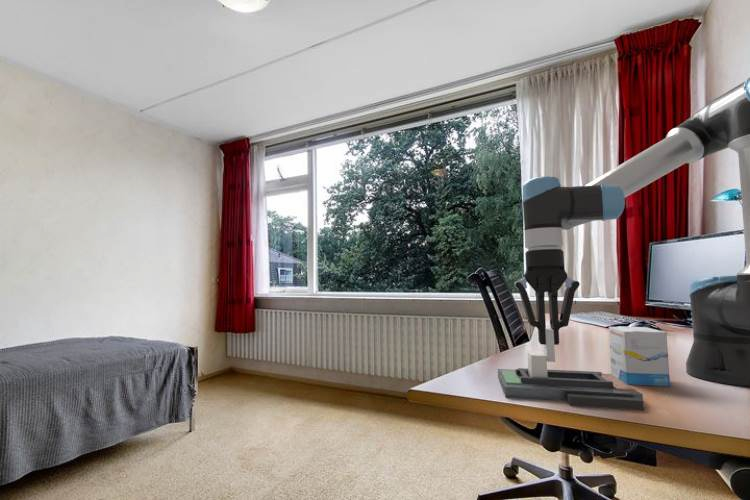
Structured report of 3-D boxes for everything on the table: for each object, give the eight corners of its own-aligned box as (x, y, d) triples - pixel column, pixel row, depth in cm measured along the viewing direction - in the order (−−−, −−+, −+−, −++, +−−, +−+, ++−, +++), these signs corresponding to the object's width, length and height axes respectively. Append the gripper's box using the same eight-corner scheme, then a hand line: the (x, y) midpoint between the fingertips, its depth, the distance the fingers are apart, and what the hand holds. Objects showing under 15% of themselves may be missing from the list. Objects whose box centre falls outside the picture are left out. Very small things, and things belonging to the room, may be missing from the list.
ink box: (671, 387, 77) (667, 331, 78) (627, 384, 79) (624, 330, 80) (649, 376, 86) (646, 326, 87) (610, 374, 87) (607, 325, 88)
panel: (611, 383, 80) (611, 369, 80) (643, 405, 67) (642, 388, 67) (497, 377, 85) (497, 364, 86) (505, 397, 72) (504, 381, 72)
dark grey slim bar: (600, 379, 84) (600, 371, 84) (603, 381, 82) (603, 373, 82) (518, 374, 88) (517, 368, 88) (519, 376, 86) (518, 369, 86)
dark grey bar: (639, 407, 66) (639, 398, 66) (644, 410, 64) (643, 401, 64) (567, 402, 68) (567, 393, 69) (570, 405, 67) (569, 396, 67)
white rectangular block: (543, 375, 79) (542, 351, 79) (547, 380, 75) (546, 355, 75) (528, 374, 79) (527, 351, 80) (532, 379, 76) (531, 355, 76)
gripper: (571, 249, 81) (577, 357, 79) (509, 251, 84) (514, 355, 82) (582, 246, 74) (590, 365, 72) (514, 249, 76) (520, 363, 75)
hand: (549, 360), depth 77 cm, fingers closed
